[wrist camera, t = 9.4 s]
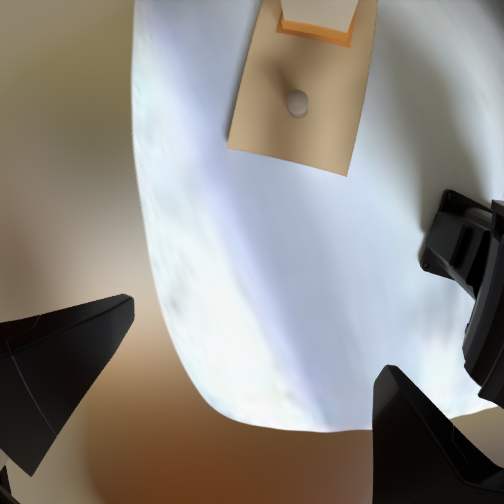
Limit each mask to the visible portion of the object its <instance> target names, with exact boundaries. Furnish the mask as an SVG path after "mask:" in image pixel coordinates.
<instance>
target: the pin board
mask: <svg viewBox="0 0 504 504" xmlns="http://www.w3.org/2000/svg"><path fill="white" fill-rule="evenodd" d="M377 2H378V0H358V3H357V6H356V9H355V12H354V15H353V17H352V21H351V27H350V34H349V37H348V40H347V42H343V41H340V40H336V39H332V38H328V37H323V36H319V35H314V34H310V33H304V32H299V31H293V30H287V29H283V28H282V22H281V20H282V16H283V10H282V5H281V0H263V1H262V5H261V8H260V12H259V15H258V19H257V22H256V26H255V30H254V33H253V37H252V41H251V45H250V48H249V52H248V56H247V60H246V64H245V68H244V72H243V77H242V81H241V85H240V89H239V93H238V98H237V102H236V107H235V111H234V116H233V120H232V125H231V129H230V134H229V139H228V144H227V148H229V149H235V150H240V151H245V152H250V153H255V154H260V155H264V156H269V157H273V158H278V159H282V160H286V161H291V162H295V163H299V164H303V165H306V166H310V167H314V168H318V169H321V170H325V171H329V172H332V173H336V174H339V175H343V176H346V177H347V174H348V170H349V165H350V161H351V157H352V153H353V149H354V144H355V140H356V136H357V131H358V126H359V122H360V117H361V112H362V107H363V102H364V96H365V91H366V85H367V79H368V74H369V67H370V61H371V54H372V47H373V40H374V32H375V23H376V13H377Z"/></svg>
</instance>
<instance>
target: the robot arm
mask: <svg viewBox="0 0 504 504" xmlns="http://www.w3.org/2000/svg"><path fill="white" fill-rule="evenodd" d="M449 193H450V194H451V197H450V198H449V199H448V194H449ZM491 209H492V210H490V209H488V208H487V207H485V206H483V205H481V204H479V203H477V202H475V201H473V200H471V199H469V198H467V197H465V196H463V195H461V194H459V193H457V192H455V191H453V190H450V189H446V190H445V191H444V193H443V196H442V200H441V203H440V207H439V210H438V212H437V213H436V215H435V218H434V221H433V225H432V228H431V231H430V234H429V237H428V239H427V242H426V245H427V246H426V249H425V252H424V254H423V257H422V259H421V262H420V267H421V268H422V269H423V270H424V271H426V272H429V273H432V274H436V275H439V276H442V277H445V278H448V279H452V280H455V281H456V282H457V283H458V284H459V285H460V286H461V287H462V288H463V289H464V290H465V291H466V292H467V293H468V294H469V295H470V296H471V297H472V298H473V299H474V300H475V305H474V308H473V311H472V315H471V318H470V321H469V323H468V324H467V326H466V329H465V338H464V342H463V347H462V350H463V354H464V359H465V364H464V368H465V369H466V371H467V373H468V374H469V376H470V377H471V378H472V379H473V380H474V381H475V382H476V383H477V384H478V385H479V386H480V387H482V388H481V389H480V391H479V393H478V396H479V397H480V398H482V399H485V400H488V401H491V402H493V403H495V404H497V405H498V406H500V407H502V408H503V409H504V201H499V200H492V204H491ZM427 262H428V265H427V266H425V264H426V263H427ZM134 316H135V313H134V299H133V298H132V297H131V296H128V295H126V294H120V295H116V296H112V297H108V298H104V299H100V300H96V301H92V302H88V303H85V304H80V305H76V306H73V307H69V308H65V309H61V310H57V311H53V312H49V313H45V314H42V315H41V316H40V315H37V316H33V317H28V318H24V319H19V320H14V321H8V322H2V323H0V504H20V503H19V502H18V501H17V500H16V499H15V498H14V497H13V496H12V495H11V489H10V485H9V480H8V475H7V469H6V465H5V464H6V463H7V461H8V460H9V459H11V460H12V461H13V462H14V463H16V464H17V465H18V466H19V467H20V468H21V469H22V470H23V471H24V472H26V473H27V474H28V475H29V476H30V477H32V476H33V474H34V473H35V471H36V469H37V468H38V466H39V464H40V463H41V461H42V459H43V458H44V456H45V455H46V453H47V451H48V450H49V448H50V447H51V445H52V444H53V442H54V440H55V439H56V436H57V435H58V434H59V432H60V431H61V429H62V428H63V426H64V425H65V423H66V422H67V420H68V419H69V417H70V416H71V414H72V413H73V411H74V410H75V408H76V407H77V406H78V404H79V403H80V401H81V399H82V398H83V397H84V395H85V394H86V393H87V391H88V390H89V388H90V387H91V385H92V384H93V383H94V381H95V380H96V378H97V377H98V376H99V374H100V373H101V371H102V370H103V369H104V367H105V366H106V364H107V363H108V362H109V361H110V359H111V358H112V356H113V355H114V354H115V352H116V350H117V349H118V347H119V345H120V343H121V342H122V340H123V338H124V337H125V335H126V333H127V332H128V330H129V328H130V326H131V325H132V323H133V321H134ZM372 431H373V499H372V504H504V468H502V467H499V466H497V465H496V464H494V463H493V462H492V461H491V460H490V459H489V458H487V457H486V456H485V455H484V454H483V453H482V452H481V451H480V450H479V449H477V448H476V447H475V446H474V445H473V444H472V443H471V442H470V441H469V440H468V439H467V438H466V437H465V436H464V435H463V434H462V433H461V432H460V431H459V430H458V429H457V428H456V427H455V426H453V423H452V422H450V420H449V419H448V418H447V417H446V416H445V415H444V414H443V413H442V412H441V411H440V410H439V409H438V408H437V407H436V406H435V405H434V404H433V403H432V401H431V400H430V399H429V398H428V397H427V396H426V395H425V394H424V393H423V392H422V391H421V390H420V389H419V388H418V387H417V386H416V385H415V384H414V383H413V382H412V381H411V380H410V379H409V378H408V377H407V376H406V375H405V374H404V373H403V372H402V371H401V370H400V369H399V368H398V367H397V366H395V365H386V366H384V368H383V369H382V371H381V372H380V374H379V376H378V377H377V379H376V380H375V382H374V387H373V414H372Z"/></svg>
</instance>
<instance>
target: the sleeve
mask: <svg viewBox="0 0 504 504" xmlns="http://www.w3.org/2000/svg"><path fill="white" fill-rule="evenodd" d="M357 3H358V0H281V5H282V10H283V16H282V20H281V22H282V28H283V29H287V30H293V31H299V32H304V33H310V34H314V35H319V36H323V37H328V38H332V39H336V40H340V41H343V42H347V40H348V37H349V34H350V27H351V21H352V17H353V15H354V12H355V9H356V6H357Z"/></svg>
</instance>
